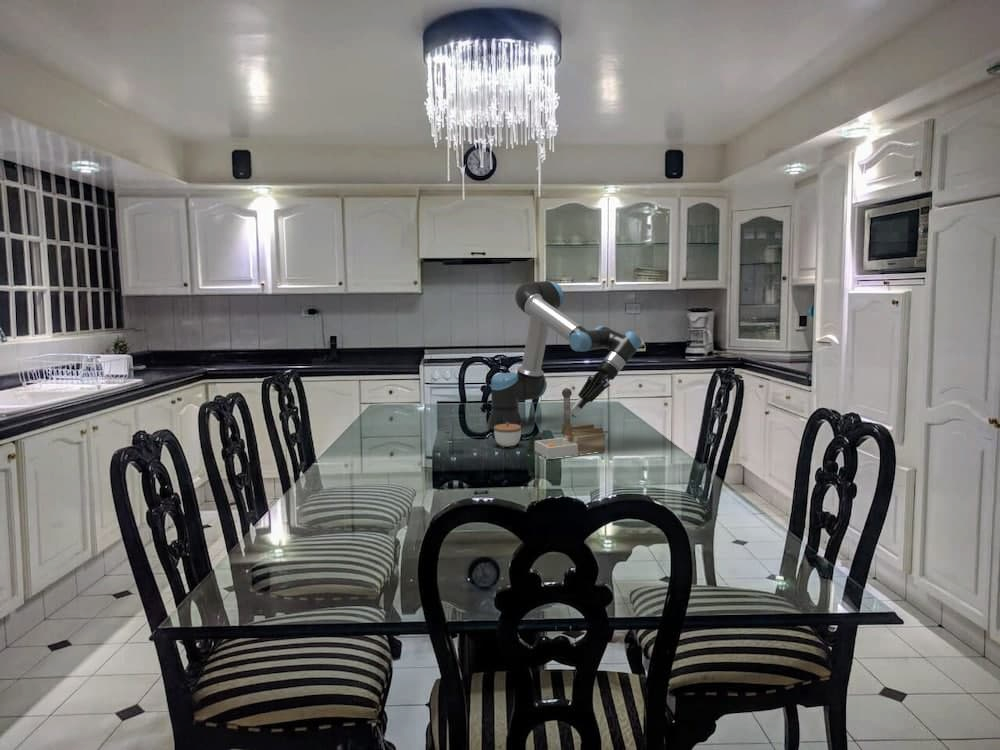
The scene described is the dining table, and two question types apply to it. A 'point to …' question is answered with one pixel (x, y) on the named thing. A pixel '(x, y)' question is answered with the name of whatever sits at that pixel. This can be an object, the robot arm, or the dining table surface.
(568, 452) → the tray
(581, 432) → the launcher
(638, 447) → the dining table surface
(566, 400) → the plunger
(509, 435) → the lidded jar
